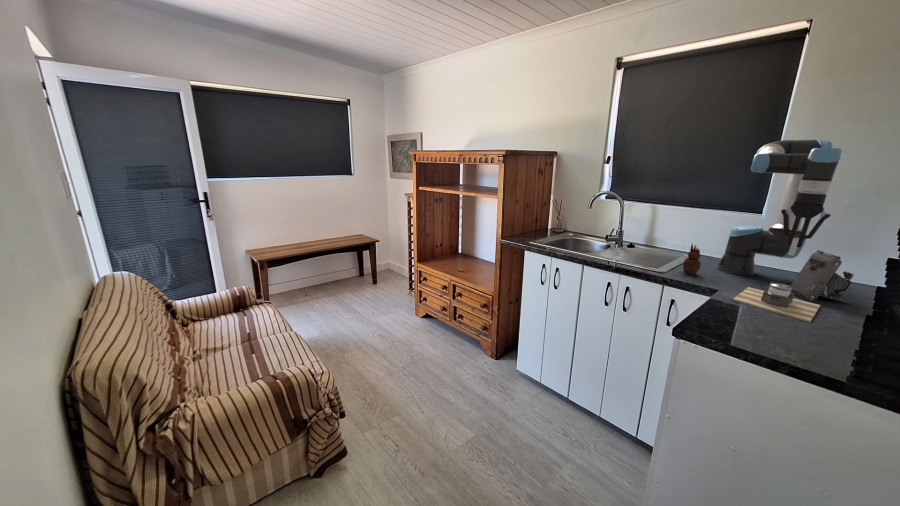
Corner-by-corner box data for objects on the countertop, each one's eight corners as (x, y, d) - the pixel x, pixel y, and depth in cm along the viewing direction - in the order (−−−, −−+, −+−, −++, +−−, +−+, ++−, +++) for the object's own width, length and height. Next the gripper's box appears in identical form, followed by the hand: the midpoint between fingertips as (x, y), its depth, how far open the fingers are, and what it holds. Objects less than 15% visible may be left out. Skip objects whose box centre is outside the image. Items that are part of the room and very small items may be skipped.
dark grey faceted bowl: (766, 295, 138) (769, 286, 137) (792, 302, 132) (795, 292, 131) (759, 301, 132) (762, 292, 131) (786, 308, 126) (790, 299, 125)
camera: (846, 313, 134) (880, 268, 127) (802, 299, 135) (833, 254, 129) (822, 302, 144) (853, 260, 138) (782, 289, 146) (810, 247, 139)
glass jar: (767, 297, 136) (772, 281, 134) (788, 303, 131) (794, 286, 129) (763, 301, 132) (768, 284, 130) (785, 307, 128) (790, 290, 126)
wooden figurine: (679, 271, 167) (685, 242, 163) (686, 270, 170) (693, 241, 165) (693, 276, 162) (700, 246, 157) (700, 274, 164) (707, 245, 160)
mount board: (747, 288, 147) (748, 287, 147) (819, 307, 130) (820, 305, 130) (732, 300, 134) (733, 298, 134) (810, 322, 117) (810, 320, 117)
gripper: (785, 191, 123) (766, 252, 129) (837, 195, 113) (814, 260, 120) (789, 190, 127) (770, 249, 134) (840, 193, 117) (817, 257, 124)
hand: (791, 254), depth 127 cm, fingers closed
